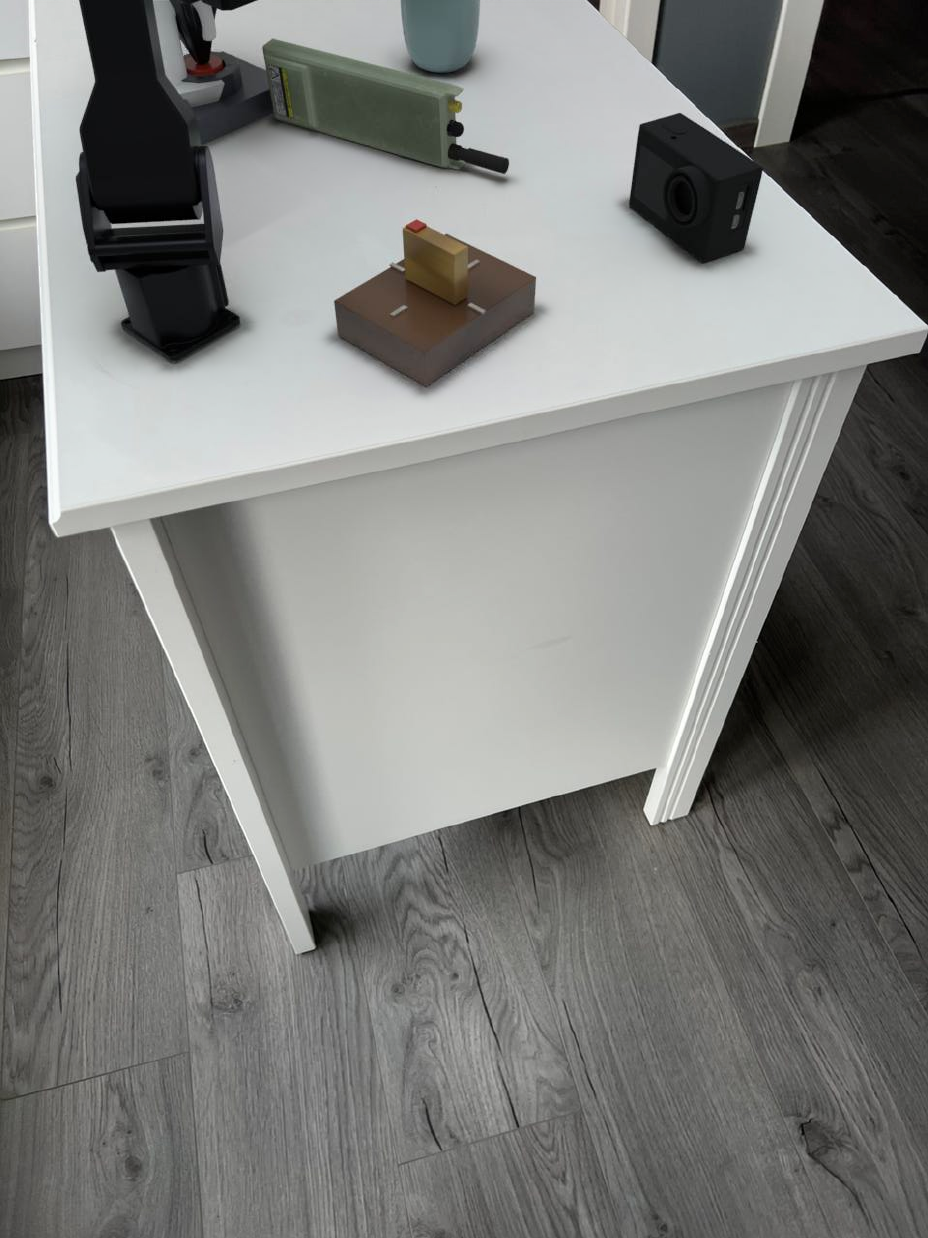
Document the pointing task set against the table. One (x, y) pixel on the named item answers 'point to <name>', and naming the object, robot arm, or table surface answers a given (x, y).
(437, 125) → the handheld radio
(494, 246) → the table surface
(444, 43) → the cup
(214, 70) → the release button
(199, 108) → the box
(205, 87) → the white bracket
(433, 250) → the gold box
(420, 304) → the plate
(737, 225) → the digital camera
